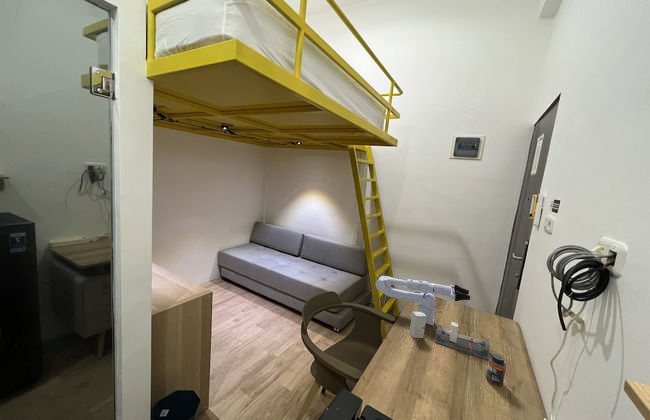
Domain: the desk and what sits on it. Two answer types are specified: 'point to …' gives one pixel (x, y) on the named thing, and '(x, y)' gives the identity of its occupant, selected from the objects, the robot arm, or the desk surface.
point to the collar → (453, 332)
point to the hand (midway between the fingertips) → (469, 295)
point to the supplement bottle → (496, 370)
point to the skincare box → (417, 324)
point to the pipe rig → (463, 343)
